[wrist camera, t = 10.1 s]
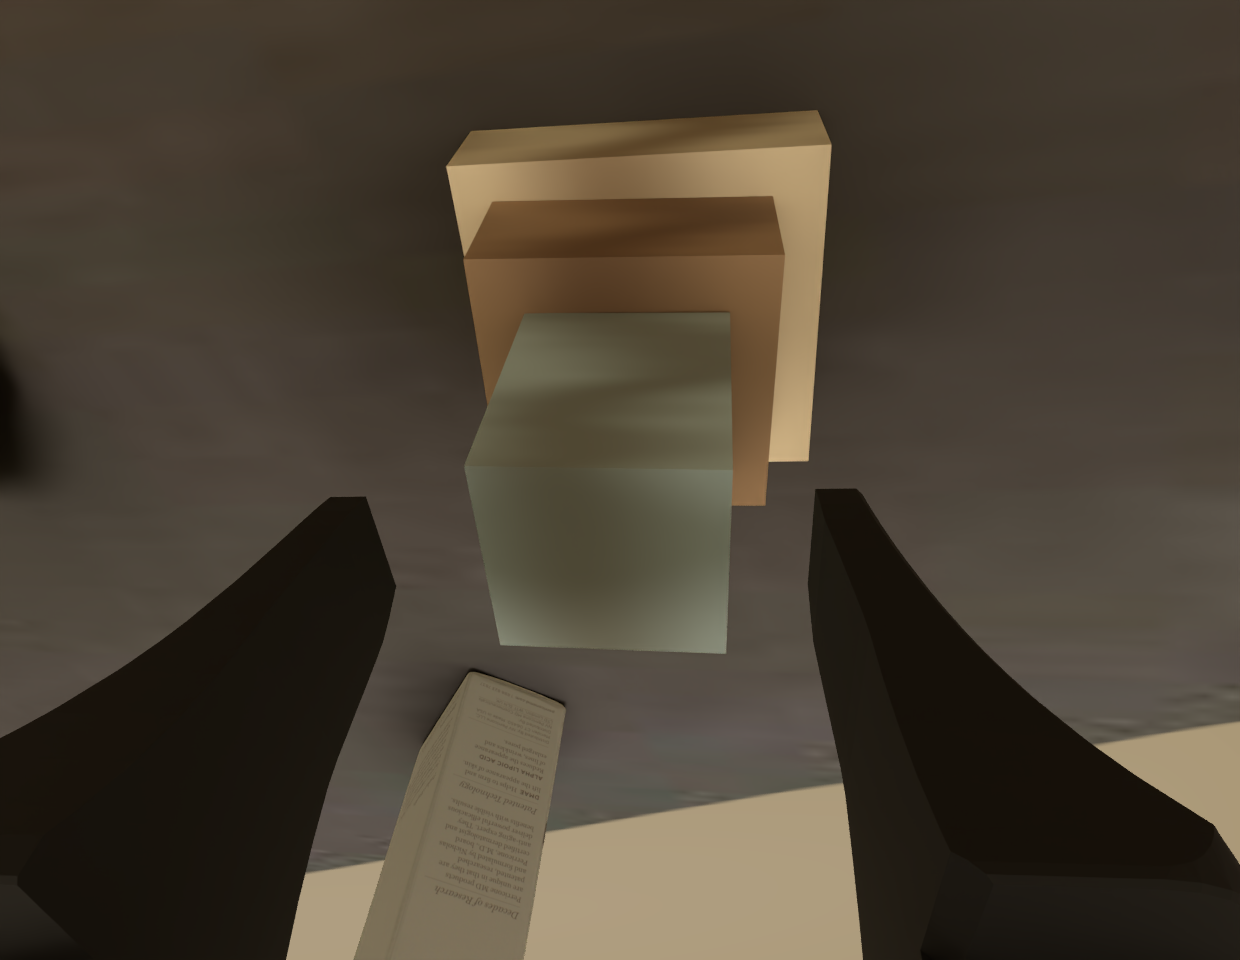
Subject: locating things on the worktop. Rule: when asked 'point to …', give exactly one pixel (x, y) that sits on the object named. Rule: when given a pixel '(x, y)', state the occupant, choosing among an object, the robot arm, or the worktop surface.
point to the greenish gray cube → (609, 482)
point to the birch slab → (682, 168)
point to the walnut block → (642, 286)
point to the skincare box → (469, 831)
